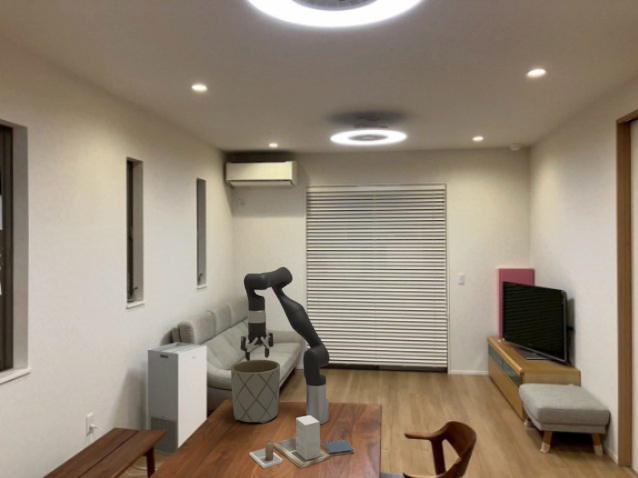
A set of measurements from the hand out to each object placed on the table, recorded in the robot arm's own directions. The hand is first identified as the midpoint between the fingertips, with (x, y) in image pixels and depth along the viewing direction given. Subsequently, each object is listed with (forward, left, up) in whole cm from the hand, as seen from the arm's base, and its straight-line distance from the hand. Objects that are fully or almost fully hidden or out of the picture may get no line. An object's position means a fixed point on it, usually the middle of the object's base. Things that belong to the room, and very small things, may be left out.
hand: (257, 358), depth 195 cm
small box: (-7, +29, -31) cm, 43 cm away
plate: (+7, +21, -32) cm, 39 cm away
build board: (-6, +24, -32) cm, 41 cm away
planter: (-8, -19, -32) cm, 38 cm away
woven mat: (-20, +30, -33) cm, 49 cm away
